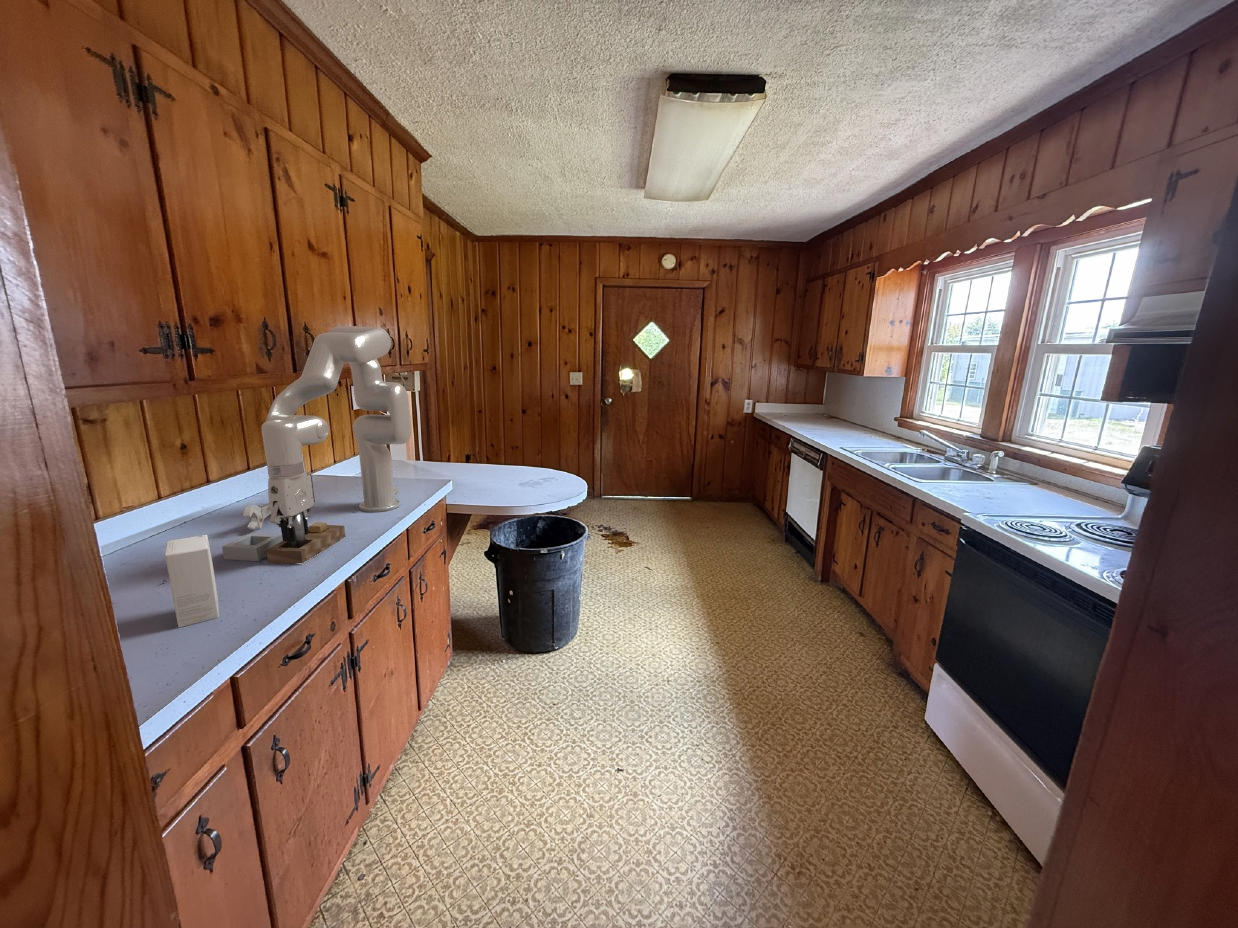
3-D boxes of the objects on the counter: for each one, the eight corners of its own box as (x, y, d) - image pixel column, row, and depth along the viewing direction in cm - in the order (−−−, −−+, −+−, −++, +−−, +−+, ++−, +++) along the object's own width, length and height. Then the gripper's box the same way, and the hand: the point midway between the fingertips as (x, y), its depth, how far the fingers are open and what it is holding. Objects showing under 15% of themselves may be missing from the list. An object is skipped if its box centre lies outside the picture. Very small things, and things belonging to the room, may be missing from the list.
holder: (252, 545, 132) (250, 533, 131) (284, 546, 131) (282, 534, 130) (224, 559, 123) (222, 546, 122) (258, 560, 123) (256, 548, 122)
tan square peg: (318, 538, 136) (316, 522, 135) (328, 539, 136) (326, 522, 135) (311, 542, 133) (309, 525, 132) (321, 543, 133) (319, 526, 132)
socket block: (315, 535, 139) (313, 524, 139) (345, 536, 139) (344, 525, 138) (268, 562, 122) (266, 549, 121) (302, 564, 122) (300, 551, 121)
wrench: (290, 512, 166) (252, 534, 137) (284, 512, 165) (244, 535, 137) (288, 489, 165) (249, 507, 136) (282, 489, 164) (241, 507, 136)
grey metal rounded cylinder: (296, 550, 128) (290, 507, 125) (311, 551, 128) (305, 508, 125) (285, 556, 125) (279, 513, 122) (300, 557, 124) (294, 513, 121)
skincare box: (179, 610, 100) (165, 540, 96) (220, 600, 104) (208, 533, 100) (177, 629, 93) (162, 554, 90) (221, 618, 97) (208, 546, 94)
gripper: (276, 479, 113) (287, 551, 117) (322, 462, 129) (330, 526, 133) (245, 478, 113) (257, 550, 117) (295, 461, 129) (304, 525, 134)
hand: (296, 536), depth 125 cm, fingers closed on grey metal rounded cylinder, 4 cm apart
